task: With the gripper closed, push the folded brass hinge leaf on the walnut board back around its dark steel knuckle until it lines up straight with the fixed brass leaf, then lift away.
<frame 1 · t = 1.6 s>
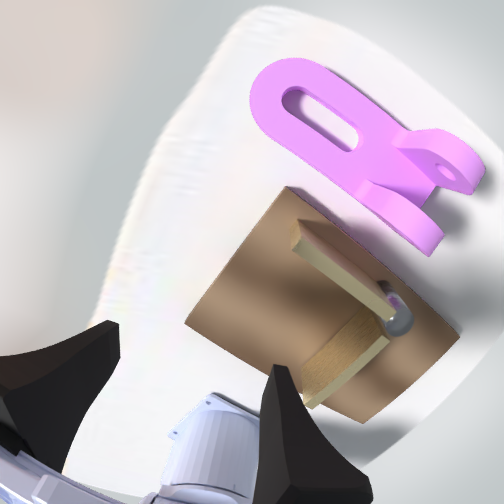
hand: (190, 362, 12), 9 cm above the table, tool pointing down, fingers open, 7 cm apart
swing leaf: (340, 357, 19), point 3 cm above the table, hinge at -90.0°
walnut board: (335, 329, 22), on the table
bracket: (343, 138, 18), on the table
fixed leaf: (380, 292, 20), resting on walnut board
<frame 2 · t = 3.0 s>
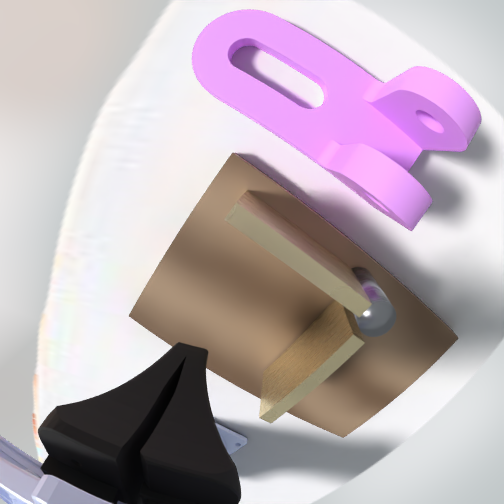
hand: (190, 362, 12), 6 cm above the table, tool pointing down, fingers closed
swing leaf: (306, 361, 16), point 3 cm above the table, hinge at -90.0°
walnut board: (304, 328, 19), on the table
bracket: (306, 96, 15), on the table
fixed leaf: (357, 281, 16), resting on walnut board
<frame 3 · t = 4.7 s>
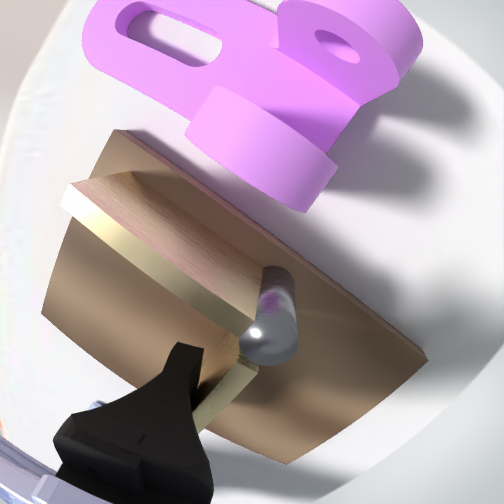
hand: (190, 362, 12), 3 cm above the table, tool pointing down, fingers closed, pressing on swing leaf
swing leaf: (210, 385, 12), point 3 cm above the table, hinge at -86.0°, touching gripper
walnut board: (219, 338, 15), on the table
bracket: (208, 57, 11), on the table
fixed leaf: (273, 285, 13), resting on walnut board
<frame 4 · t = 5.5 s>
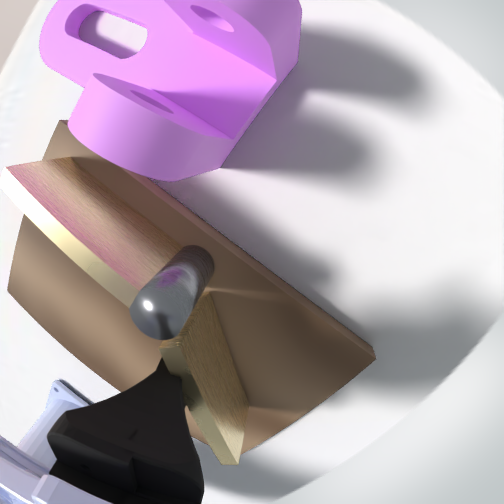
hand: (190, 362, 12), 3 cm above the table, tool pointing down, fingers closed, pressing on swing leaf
swing leaf: (214, 385, 12), point 3 cm above the table, hinge at -39.2°, touching gripper
walnut board: (155, 319, 15), on the table
bracket: (144, 48, 11), on the table
fixed leaf: (193, 265, 13), resting on walnut board
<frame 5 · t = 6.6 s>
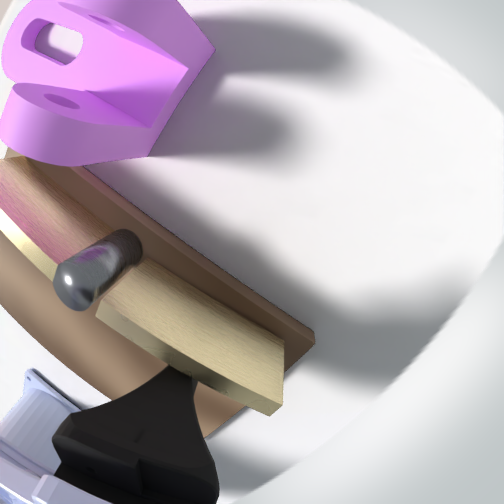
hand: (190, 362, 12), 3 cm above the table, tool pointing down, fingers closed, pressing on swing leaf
swing leaf: (201, 332, 11), point 3 cm above the table, hinge at 3.3°, touching gripper
walnut board: (103, 304, 15), on the table
bracket: (86, 54, 11), on the table
fixed leaf: (125, 248, 13), resting on walnut board
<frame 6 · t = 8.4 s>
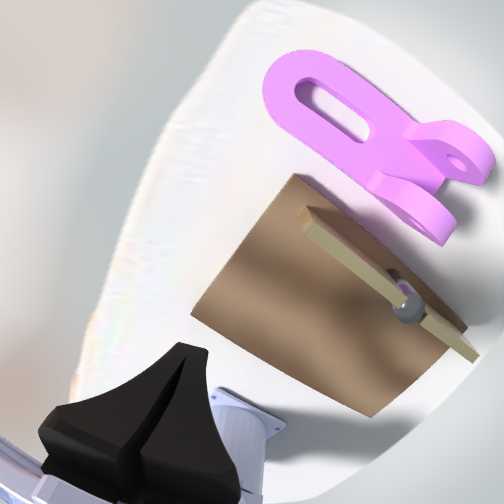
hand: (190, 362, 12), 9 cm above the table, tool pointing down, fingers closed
swing leaf: (441, 326, 18), point 3 cm above the table, hinge at 3.3°
walnut board: (344, 320, 22), on the table
bracket: (354, 130, 18), on the table
fixed leaf: (389, 280, 19), resting on walnut board
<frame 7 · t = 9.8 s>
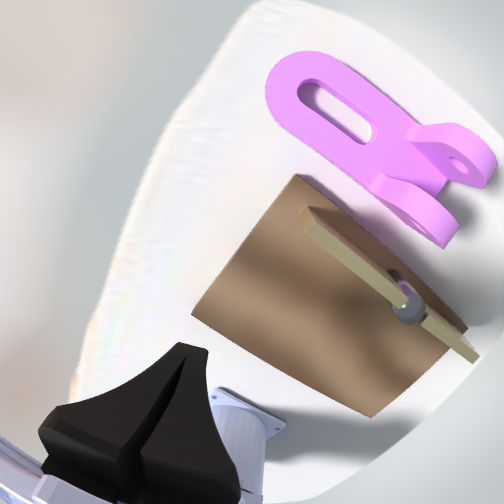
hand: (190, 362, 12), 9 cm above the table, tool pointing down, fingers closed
swing leaf: (442, 327, 18), point 3 cm above the table, hinge at 3.3°
walnut board: (344, 320, 22), on the table
bracket: (357, 131, 18), on the table
fixed leaf: (390, 281, 19), resting on walnut board
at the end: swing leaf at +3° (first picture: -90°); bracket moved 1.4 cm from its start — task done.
